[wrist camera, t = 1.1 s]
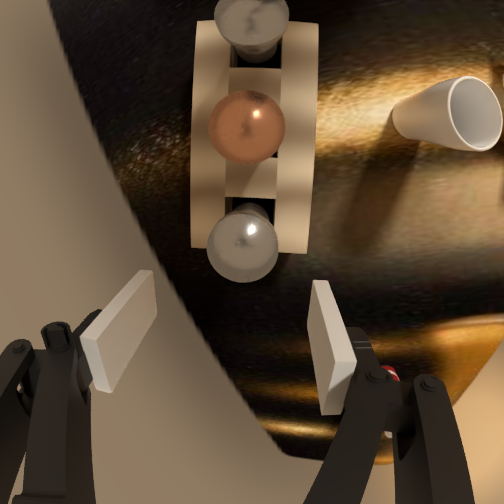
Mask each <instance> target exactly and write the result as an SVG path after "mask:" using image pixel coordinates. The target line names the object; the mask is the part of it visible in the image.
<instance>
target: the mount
mask: <svg viewBox="0 0 504 504" xmlns="http://www.w3.org/2000/svg"><path fill="white" fill-rule="evenodd" d="M277 45H281V51H280V69H272V68H237V64H238V53H237V51H236V48H235V46H233V45H232V44H230V43H229V42H227V41H226V40H225V39H224V38H223V37H222V35H221V34H220V32H219V30H218V28H217V26H216V23H215V20H211V21H197V32H196V45H195V60H194V77H193V97H192V123H191V174H190V207H191V248H207V241H208V237H209V234H210V233H211V231H212V229H213V228H214V226H215V225H216V223H217V222H218V221H219V220H220V219H221V218H222V217H223V216H225V215H227V214H229V213H231V212H232V203H233V197H249V198H269V199H274V212H273V227H274V229H275V231H276V234H277V237H278V252H284V253H302V254H307V244H308V233H309V222H310V210H311V198H312V184H313V170H314V154H315V136H316V114H317V86H318V24H315V23H305V22H293V21H288V26H287V29H286V31H285V33H284V35H283V36H282V37H281V38H280V39H279V40H278V41H277ZM242 90H252V91H257V92H260V93H263V94H265V95H267V96H269V97H270V98H271V99H273V100H274V101H275V102H276V103H277V105H278V106H279V107H280V109H281V111H282V113H283V115H284V119H285V128H286V129H285V135H284V139H283V142H282V144H281V145H280V147H279V149H278V150H277V153H276V156H273V155H272V156H271V157H269V158H268V159H266V160H264V161H262V162H260V163H256V164H251V165H243V164H237V163H234V162H231V161H229V160H227V159H225V158H224V157H222V156H221V155H220V154H219V153H218V152H217V151H216V150H215V148H214V147H213V145H212V143H211V141H210V137H209V133H208V123H209V118H210V115H211V112H212V111H213V109H214V107H215V106H216V104H217V103H218V102H219V101H220V100H221V99H223V98H224V97H226V96H227V95H229V94H231V93H234V92H237V91H242Z"/></svg>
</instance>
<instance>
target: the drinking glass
mask: <svg viewBox="0 0 504 504" xmlns="http://www.w3.org/2000/svg"><path fill="white" fill-rule="evenodd" d="M392 120H393V124H394V126H395V128H396V130H397V131H398V132H399V134H401V135H402V136H403V137H405V138H407V139H410V140H419V141H424V142H428V143H432V144H436V145H440V146H444V147H448V148H452V149H458V150H466V151H485V150H488V149H490V148H492V147H493V146H494V145H495V144H496V143H497V141H498V139H499V137H500V135H501V131H502V124H503V119H502V111H501V107H500V104H499V102H498V99H497V97H496V95H495V94H494V92H493V91H492V90H491V88H490V87H489V86H488V85H487V84H486V83H484V82H483V81H482V80H480V79H478V78H476V77H472V76H464V77H458V78H453V79H448V80H445V81H442V82H439V83H437V84H435V85H433V86H431V87H429V88H427V89H425V90H423V91H421V92H419V93H417V94H414V95H412V96H410V97H408V98H405V99H402V100H400V101H399V102H398V103H397V104H396V105H395V107H394V109H393V113H392Z"/></svg>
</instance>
